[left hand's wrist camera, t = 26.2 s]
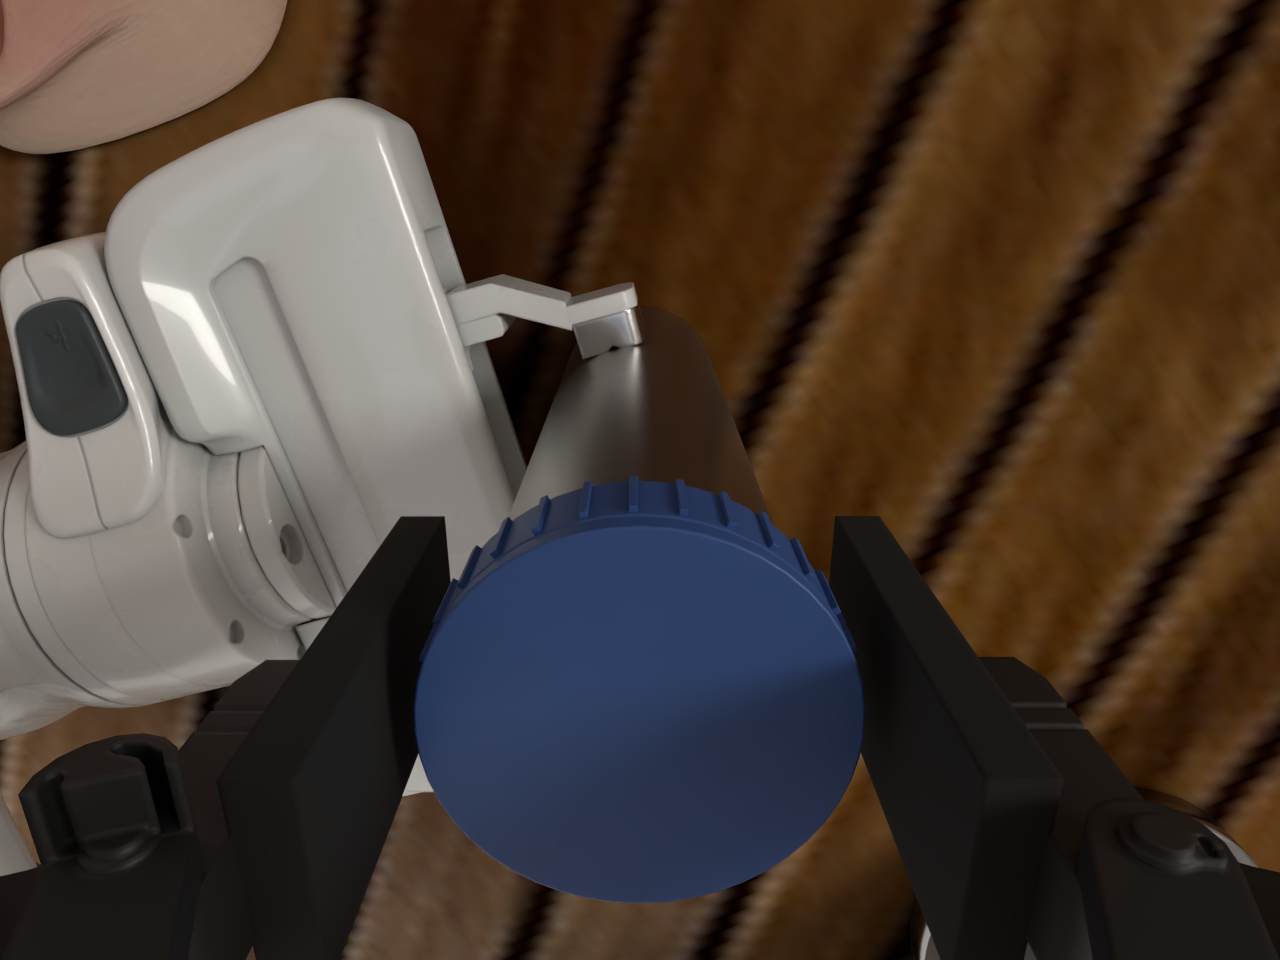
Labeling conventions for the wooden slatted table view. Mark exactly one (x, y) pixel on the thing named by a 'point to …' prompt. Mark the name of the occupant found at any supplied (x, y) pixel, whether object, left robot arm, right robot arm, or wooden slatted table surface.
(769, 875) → the wooden slatted table surface
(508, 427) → the right robot arm
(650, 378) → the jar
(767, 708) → the lid
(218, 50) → the anatomical model
